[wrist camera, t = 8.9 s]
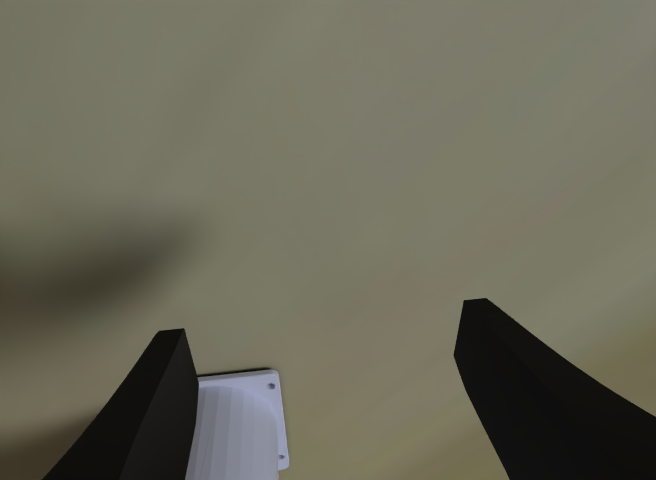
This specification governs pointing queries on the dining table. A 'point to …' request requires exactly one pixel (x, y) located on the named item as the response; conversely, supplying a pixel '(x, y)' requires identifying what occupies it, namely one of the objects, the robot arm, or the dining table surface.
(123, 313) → the dining table surface
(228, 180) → the dining table surface
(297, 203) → the dining table surface
